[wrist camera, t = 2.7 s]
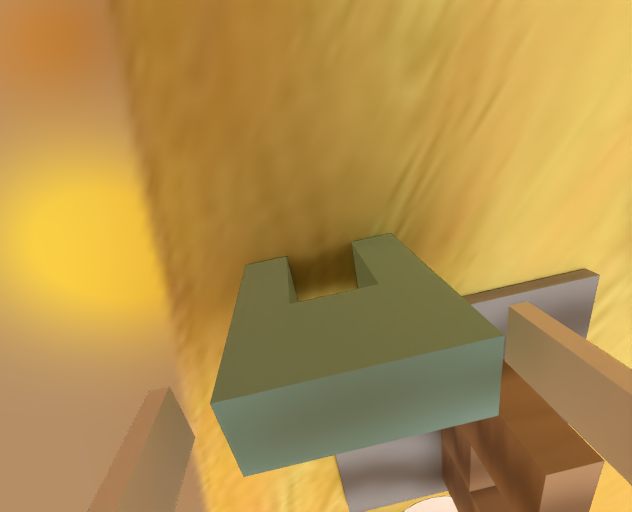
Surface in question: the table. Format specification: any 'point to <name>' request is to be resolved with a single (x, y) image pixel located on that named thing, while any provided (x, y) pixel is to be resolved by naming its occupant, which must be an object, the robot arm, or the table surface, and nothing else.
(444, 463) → the joint base
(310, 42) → the table surface
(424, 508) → the wineglass
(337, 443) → the green arch block
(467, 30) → the table surface
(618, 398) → the robot arm
